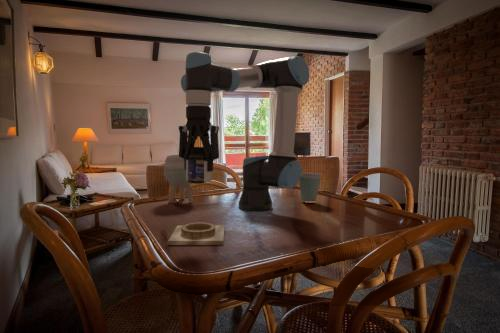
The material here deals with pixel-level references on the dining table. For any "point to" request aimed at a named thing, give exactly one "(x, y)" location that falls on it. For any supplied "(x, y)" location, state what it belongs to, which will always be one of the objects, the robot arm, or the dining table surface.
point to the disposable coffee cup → (309, 186)
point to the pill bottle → (196, 165)
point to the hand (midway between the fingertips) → (198, 181)
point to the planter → (177, 177)
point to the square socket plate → (197, 234)
